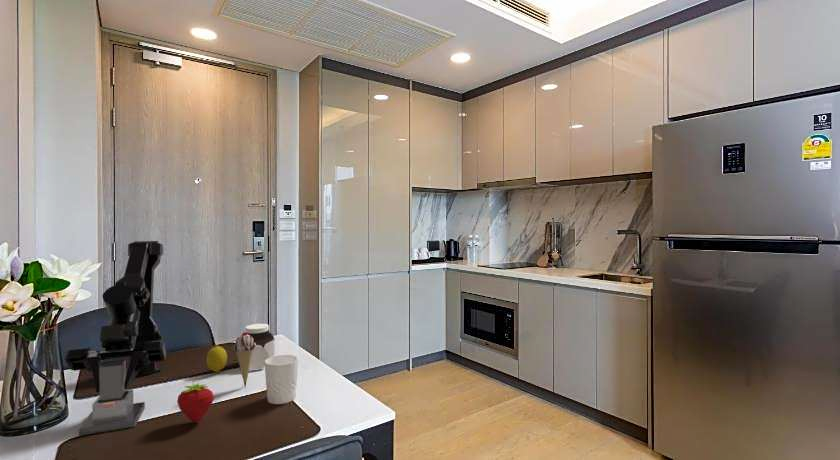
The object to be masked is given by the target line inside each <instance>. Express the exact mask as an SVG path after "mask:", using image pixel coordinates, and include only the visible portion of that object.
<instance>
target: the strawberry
mask: <svg viewBox="0 0 840 460" xmlns="http://www.w3.org/2000/svg"><path fill="white" fill-rule="evenodd" d="M191 380H192V385H186V386H184V388H188V389H185V390H183V391H181V392H180V393H179V395H178V396H177V400H176V402H177V405H178V408H179V410H180V412H182V414H184V415H185V417H187V418H188V419H190V421H191V422H192V423H195V424H196V423H197V424H198V423H199V422H201V420H202V419H203V418H204V416H205V415H207V413H208V411H210V408H211V407H212V404H213V403H214V393H213V391H212V390H210V389H209V388H208V385H207V384H205V383H204V384H200V382H198V383H196V384H195V385H194V380H193V379H191Z"/></svg>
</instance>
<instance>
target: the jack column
mask: <svg viewBox="0 0 840 460" xmlns="http://www.w3.org/2000/svg"><path fill="white" fill-rule="evenodd" d="M126 361H127V360H126V359H122V360H121V359H120V360H119V359H117V360H111V361H110V360H109V361H104V362H103V363H101V364H102V365H101V366H100V367H99V373H100V391H99V396H100V402H108V401H115V400H123V399H125V397H126V390H127V389H125V388H124V384H125V378H126V375H127V362H126Z"/></svg>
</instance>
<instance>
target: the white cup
mask: <svg viewBox="0 0 840 460" xmlns="http://www.w3.org/2000/svg"><path fill="white" fill-rule="evenodd" d="M298 358H299V357H298V356H296V355H293V354H279V355H278V354H277V355H274V356H273V357H270V358H268V359H266V360H265V367H264V370H265V371H264V373H265V386H266V387H265V388H266V393H267V402H268V404H269V403H270V404H272V405H283V404H288V403H290V402H293V401H294V400H295V399H296V397H297V395H296V391H297V381H298V360H299V359H298Z"/></svg>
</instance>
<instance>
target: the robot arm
mask: <svg viewBox="0 0 840 460" xmlns="http://www.w3.org/2000/svg"><path fill="white" fill-rule="evenodd" d="M163 255H164V245H163V244H162V243H161V242H159V240H140V241H139V240H138V241H137V240H135V241H133V242H130V243H128V244H127V257H128V259H127V263H126V266H125V272H124V275H123V276H122V277H121V278H120V279H117V281H115V283H114V285H112V286H110V287H108V288H107V289H106V290H105V291H104V292H103V294H102V300H103V302H104V306H105V308H106V311H107V312H108V313H107V314H108V316H110V317H111V319H110V324H109V325H102V326H100V333H99V342H101V345H100V347H101V348H102V349H104V351H103V350H101V351H99V350H91V348H90V346H83V347H82V346H81V347H73V348H72V347H71V348H69V349H68V350H67V352H65V357H64V360H65V362H66V364H67V366H68V368H69V369H70V371H73V372H74V371H75V372H76V371H84V370H86V372H88V373H92V379H93V383H94V388H95V392H96V393H100V373H99V367H100V366H101V365H102V364H103V363H102V362H103V361H108V360H109V361H110V360H111V361H112V360H119V359H120V360H121V359H127V358H129V359H130V360H129V365H128V368H127V370H126V378H125V384H124V388H125V389H126V390H128V388H129V386H130V385H131V384H132V382H133V381H134V379H135V378H139V377H142V376H143V377H144V376H146V375H149V374H154V373H158V372H160V371H162V369H161V368H159V367H157V362H158V363H159V362H164V361H165V360H166V355H167V350H166V346H165V341H164V340H163V335H162V334H161V332H160V330H159V326H158V324H157V323H156V322H155V320H154V319H153V309H154V307H153V306H154V305H153V303H154V302H153V301H154V284H155V283H154V281H155V280H154V279H155V278H154V277H155V270H156V268H158V266H159V265H160V263H161V258H162V257H161V256H163Z"/></svg>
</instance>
